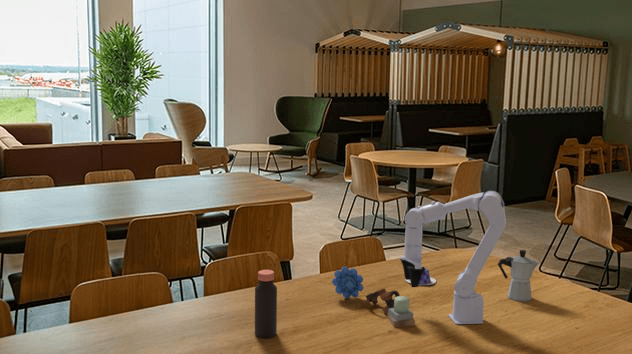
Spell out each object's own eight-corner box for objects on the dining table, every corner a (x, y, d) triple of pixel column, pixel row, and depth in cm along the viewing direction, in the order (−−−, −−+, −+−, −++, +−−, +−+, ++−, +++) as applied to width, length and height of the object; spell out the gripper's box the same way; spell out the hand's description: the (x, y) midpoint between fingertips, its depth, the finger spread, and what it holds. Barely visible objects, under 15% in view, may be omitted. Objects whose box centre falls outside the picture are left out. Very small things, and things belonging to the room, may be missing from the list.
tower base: (407, 319, 219) (408, 312, 218) (414, 327, 212) (414, 320, 211) (387, 320, 217) (387, 313, 217) (393, 328, 211) (393, 321, 210)
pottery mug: (378, 318, 219) (368, 294, 220) (368, 320, 228) (359, 298, 229) (408, 304, 223) (398, 281, 225) (397, 307, 232) (388, 285, 233)
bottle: (265, 327, 208) (265, 267, 204) (281, 333, 203) (281, 271, 200) (250, 334, 202) (250, 272, 199) (265, 340, 198) (266, 277, 195)
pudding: (402, 284, 252) (403, 271, 251) (407, 275, 263) (407, 263, 262) (434, 288, 248) (434, 275, 248) (437, 278, 260) (438, 266, 259)
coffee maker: (534, 294, 243) (538, 247, 240) (540, 303, 234) (544, 254, 231) (493, 292, 244) (496, 245, 241) (497, 300, 236) (500, 252, 233)
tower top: (404, 312, 218) (404, 306, 218) (413, 318, 212) (413, 312, 212) (388, 314, 216) (388, 308, 216) (396, 321, 210) (396, 315, 210)
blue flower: (334, 303, 230) (334, 270, 228) (330, 296, 236) (330, 264, 234) (366, 301, 232) (367, 269, 230) (361, 295, 239) (362, 263, 237)
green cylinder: (406, 307, 217) (406, 295, 216) (410, 313, 212) (411, 301, 211) (392, 307, 216) (392, 296, 215) (396, 313, 211) (396, 302, 210)
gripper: (396, 238, 226) (394, 276, 228) (407, 250, 211) (405, 290, 214) (416, 238, 226) (414, 276, 229) (428, 250, 212) (426, 290, 215)
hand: (411, 283), depth 221 cm, fingers open, 7 cm apart
